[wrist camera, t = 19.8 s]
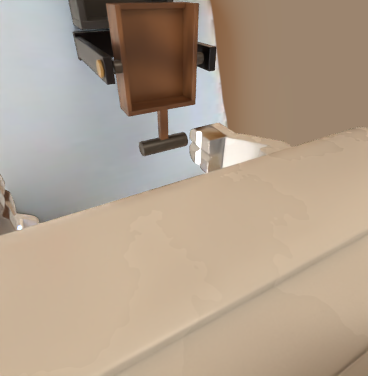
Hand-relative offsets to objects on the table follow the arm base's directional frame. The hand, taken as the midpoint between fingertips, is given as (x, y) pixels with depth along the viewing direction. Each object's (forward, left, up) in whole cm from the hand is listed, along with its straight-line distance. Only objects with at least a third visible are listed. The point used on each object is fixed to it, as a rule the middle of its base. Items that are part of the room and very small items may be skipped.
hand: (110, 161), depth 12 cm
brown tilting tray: (-3, -10, -20) cm, 22 cm away
